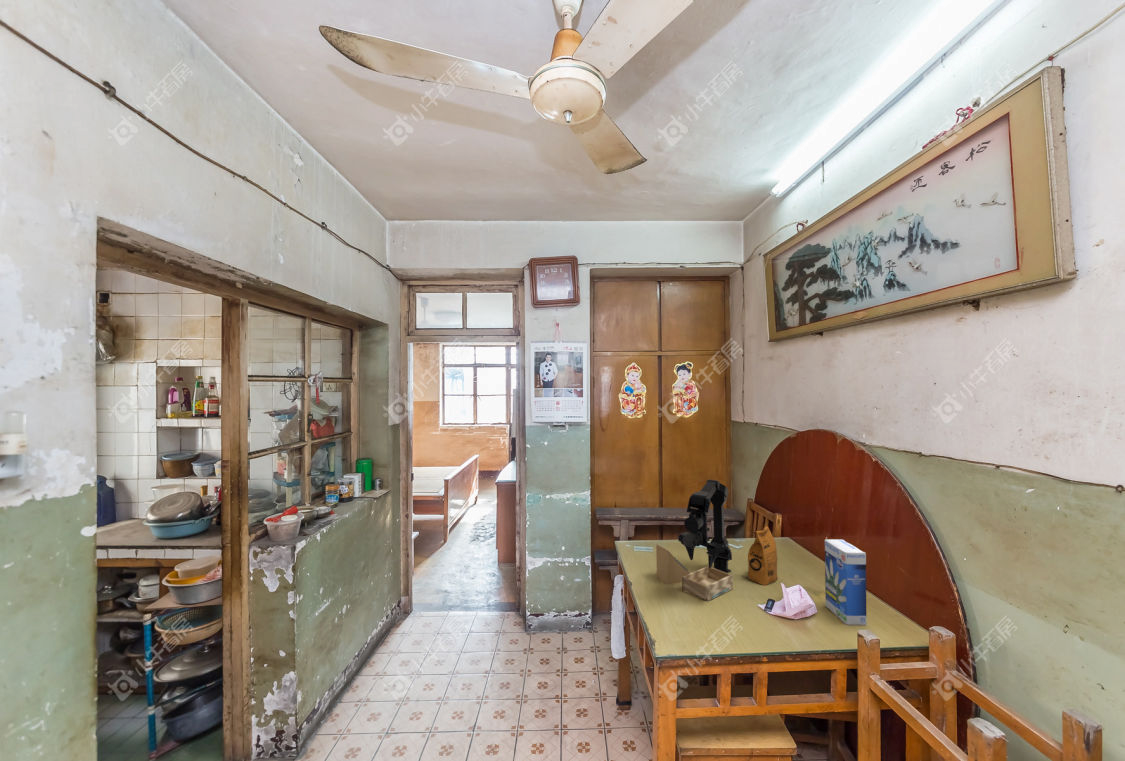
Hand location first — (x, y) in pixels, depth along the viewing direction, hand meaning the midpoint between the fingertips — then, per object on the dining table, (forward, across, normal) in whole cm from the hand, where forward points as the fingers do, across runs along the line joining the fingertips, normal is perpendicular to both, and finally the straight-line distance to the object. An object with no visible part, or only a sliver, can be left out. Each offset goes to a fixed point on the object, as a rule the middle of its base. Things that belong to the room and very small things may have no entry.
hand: (700, 563), depth 173 cm
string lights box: (+13, +40, +31) cm, 53 cm away
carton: (+13, -2, +6) cm, 14 cm away
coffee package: (+13, +6, +34) cm, 37 cm away
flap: (+13, +4, +6) cm, 15 cm away
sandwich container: (+13, -16, +4) cm, 22 cm away
